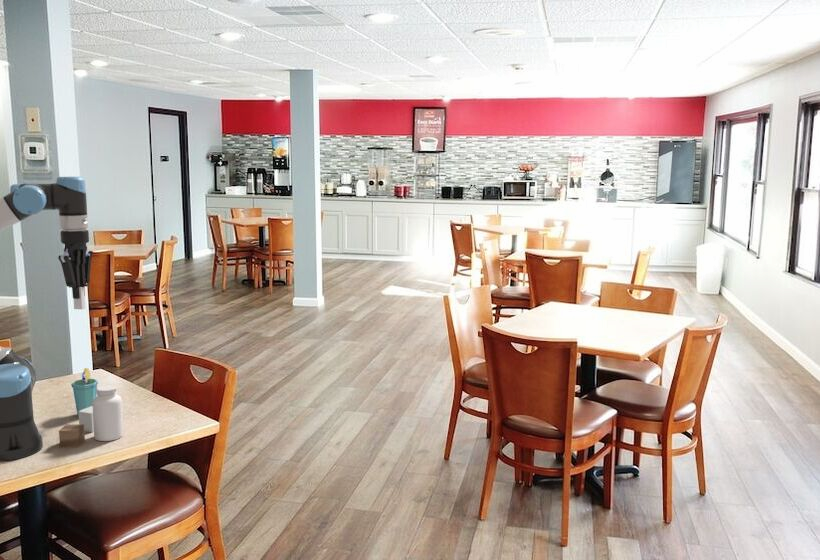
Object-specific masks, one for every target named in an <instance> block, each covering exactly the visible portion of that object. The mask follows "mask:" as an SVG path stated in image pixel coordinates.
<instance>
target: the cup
mask: <svg viewBox="0 0 820 560" xmlns="http://www.w3.org/2000/svg"><path fill="white" fill-rule="evenodd" d="M81 377H82V379H77V380H75V381H73V382H72V383H71V384H70V385H71V387H72V390H73V391H72V392H73V396H74V402H75V407H76V414H77V416H78V417H79V414H78V411H80V410H83V409H85V408H88V407H90V406H93V404H92V403H93V400H94V398H95V397H97V388H98V384H99V381H98V380H97V379H94V378H91V372H90V369H89V368H87V367H86V368H84V369H83V372H82V375H81Z"/></svg>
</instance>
